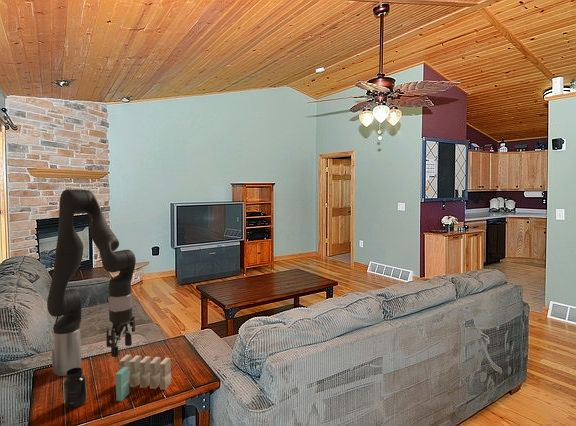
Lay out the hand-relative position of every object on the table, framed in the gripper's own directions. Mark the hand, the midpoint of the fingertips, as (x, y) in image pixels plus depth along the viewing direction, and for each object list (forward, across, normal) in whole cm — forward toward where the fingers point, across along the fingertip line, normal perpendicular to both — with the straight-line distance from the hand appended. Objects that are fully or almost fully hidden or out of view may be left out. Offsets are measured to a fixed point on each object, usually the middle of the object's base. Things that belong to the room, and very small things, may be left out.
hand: (121, 350), depth 134 cm
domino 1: (+17, -9, -4) cm, 20 cm away
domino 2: (+17, 0, 0) cm, 17 cm away
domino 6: (+17, -9, +12) cm, 23 cm away
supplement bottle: (+18, +6, -14) cm, 23 cm away
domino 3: (+17, -9, 0) cm, 20 cm away
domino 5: (+17, -9, +8) cm, 21 cm away
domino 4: (+17, -9, +4) cm, 20 cm away
